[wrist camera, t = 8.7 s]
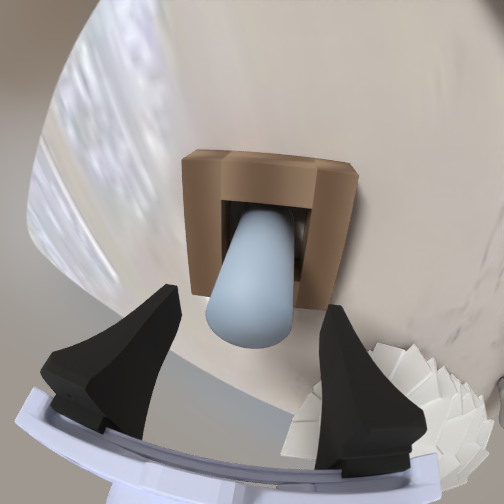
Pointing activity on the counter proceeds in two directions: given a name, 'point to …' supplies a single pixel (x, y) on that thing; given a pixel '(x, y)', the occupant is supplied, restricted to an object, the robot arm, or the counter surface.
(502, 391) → the lightbulb
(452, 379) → the spiral staircase
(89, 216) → the counter surface
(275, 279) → the peg
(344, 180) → the socket block
